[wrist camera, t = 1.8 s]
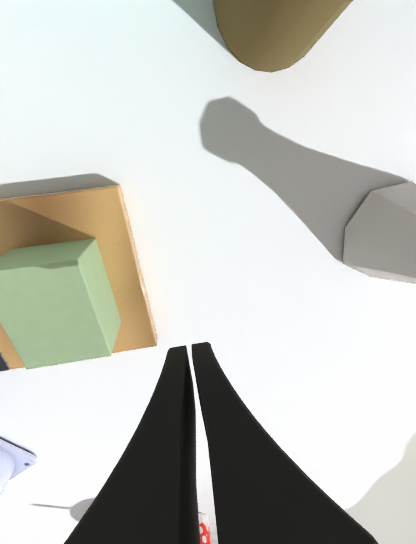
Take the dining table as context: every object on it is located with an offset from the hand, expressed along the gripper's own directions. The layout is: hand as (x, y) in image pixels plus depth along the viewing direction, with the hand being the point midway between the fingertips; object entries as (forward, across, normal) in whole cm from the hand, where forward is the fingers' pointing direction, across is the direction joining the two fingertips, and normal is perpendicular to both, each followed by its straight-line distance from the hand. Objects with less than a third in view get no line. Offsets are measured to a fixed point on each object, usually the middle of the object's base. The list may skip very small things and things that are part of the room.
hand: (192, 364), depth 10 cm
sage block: (+8, +8, 0) cm, 11 cm away
